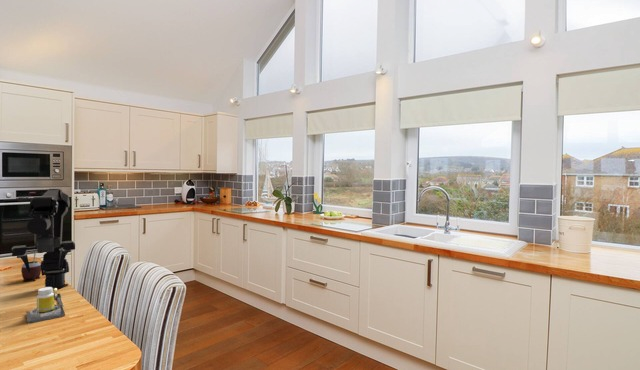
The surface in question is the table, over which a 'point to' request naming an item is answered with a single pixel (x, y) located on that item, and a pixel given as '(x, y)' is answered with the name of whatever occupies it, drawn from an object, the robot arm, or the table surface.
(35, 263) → the mate gourd
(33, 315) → the grey handled tray
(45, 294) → the supplement bottle
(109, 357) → the table surface
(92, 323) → the table surface
